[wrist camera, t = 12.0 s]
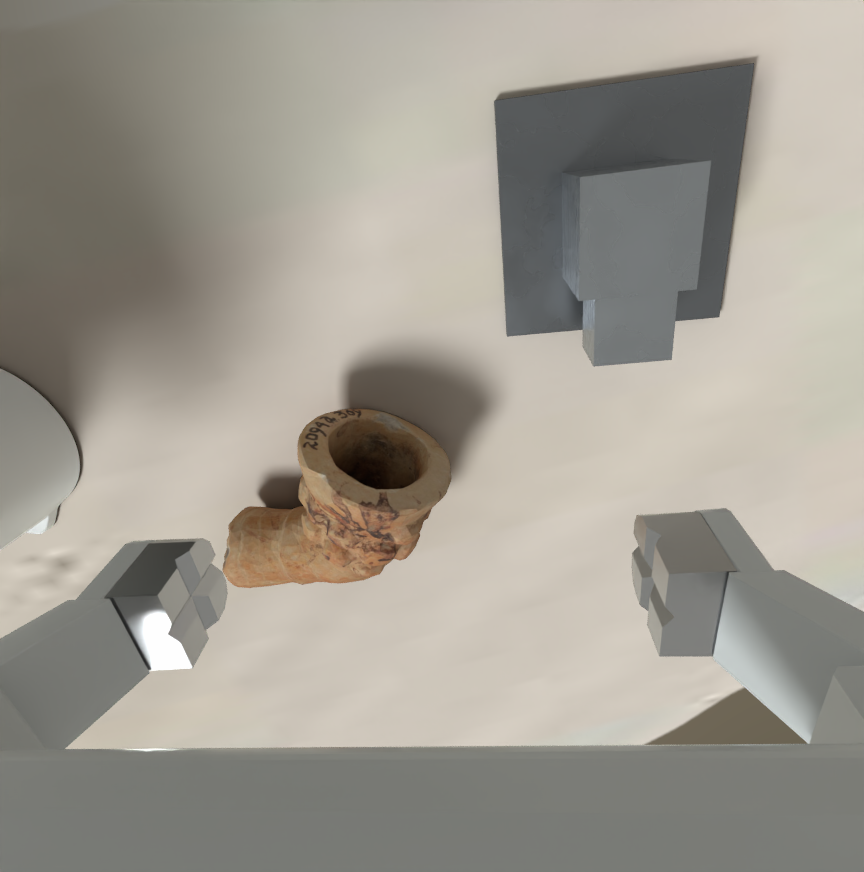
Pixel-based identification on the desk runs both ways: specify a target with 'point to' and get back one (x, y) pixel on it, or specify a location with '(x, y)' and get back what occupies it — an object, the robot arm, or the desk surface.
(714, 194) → the duct plate
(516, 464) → the desk surface
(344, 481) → the clay pipe
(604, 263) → the stepped gray block
